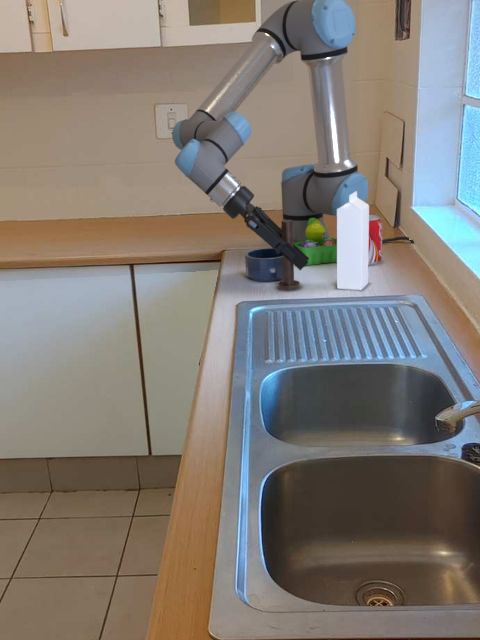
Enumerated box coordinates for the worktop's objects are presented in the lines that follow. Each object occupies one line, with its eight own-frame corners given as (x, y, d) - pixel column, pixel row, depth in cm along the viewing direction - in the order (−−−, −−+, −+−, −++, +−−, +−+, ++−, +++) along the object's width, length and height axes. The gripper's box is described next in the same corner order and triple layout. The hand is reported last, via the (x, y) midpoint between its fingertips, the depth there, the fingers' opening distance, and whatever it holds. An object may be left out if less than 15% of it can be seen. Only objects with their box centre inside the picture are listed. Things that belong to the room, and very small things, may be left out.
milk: (336, 289, 179) (335, 195, 170) (344, 281, 184) (343, 190, 175) (361, 290, 176) (362, 195, 168) (368, 283, 181) (369, 190, 173)
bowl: (281, 268, 199) (280, 245, 196) (297, 278, 189) (297, 255, 186) (240, 273, 196) (239, 251, 194) (254, 284, 186) (253, 261, 183)
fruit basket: (303, 267, 198) (302, 224, 194) (292, 259, 206) (291, 218, 202) (343, 262, 201) (343, 220, 196) (332, 255, 209) (331, 214, 204)
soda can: (379, 266, 195) (380, 220, 190) (352, 265, 197) (352, 219, 193) (383, 259, 201) (384, 214, 196) (357, 258, 203) (357, 214, 199)
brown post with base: (295, 283, 185) (293, 217, 179) (302, 288, 180) (301, 221, 174) (275, 286, 184) (272, 220, 177) (282, 291, 179) (280, 224, 173)
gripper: (226, 201, 184) (295, 266, 188) (216, 214, 170) (291, 284, 173) (246, 178, 181) (317, 245, 185) (238, 189, 167) (314, 261, 170)
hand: (304, 264), depth 179 cm, fingers closed on brown post with base, 3 cm apart
